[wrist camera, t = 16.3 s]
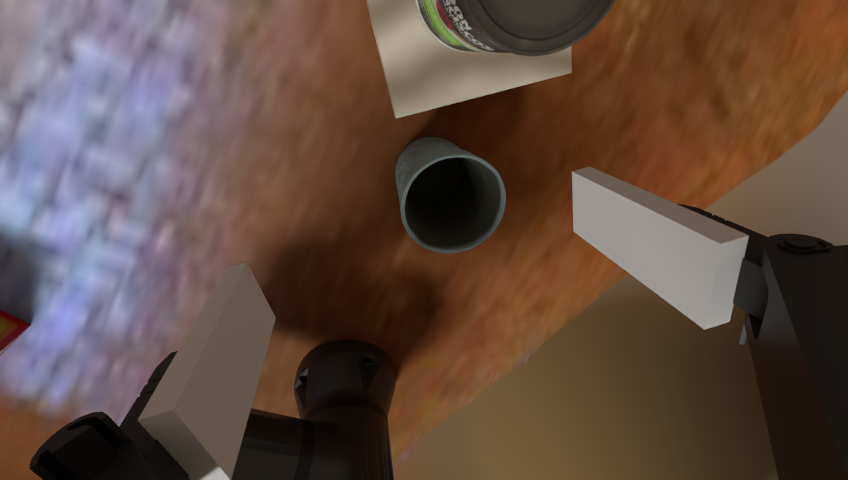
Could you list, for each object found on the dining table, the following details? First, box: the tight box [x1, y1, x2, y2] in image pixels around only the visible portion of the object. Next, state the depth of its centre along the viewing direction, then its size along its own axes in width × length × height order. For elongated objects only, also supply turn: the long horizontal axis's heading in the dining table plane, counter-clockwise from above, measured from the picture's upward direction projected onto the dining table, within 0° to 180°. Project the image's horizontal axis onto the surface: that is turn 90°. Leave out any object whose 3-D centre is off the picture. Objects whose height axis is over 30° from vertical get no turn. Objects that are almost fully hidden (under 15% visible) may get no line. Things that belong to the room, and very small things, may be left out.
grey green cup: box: [395, 137, 506, 254], centre depth 40 cm, size 10×10×12 cm
